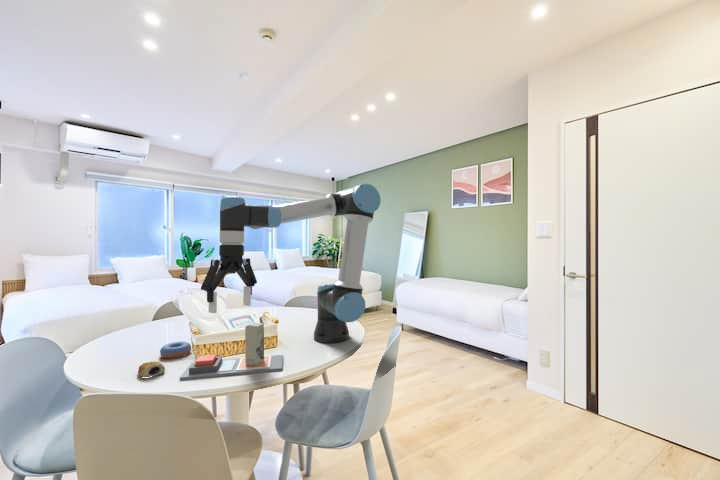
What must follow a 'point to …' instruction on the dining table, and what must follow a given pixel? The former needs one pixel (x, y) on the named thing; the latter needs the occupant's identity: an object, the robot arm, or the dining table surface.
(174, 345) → the doughnut
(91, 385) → the dining table surface
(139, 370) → the pastry
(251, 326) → the box
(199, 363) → the button
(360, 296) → the robot arm
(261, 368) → the picture board
